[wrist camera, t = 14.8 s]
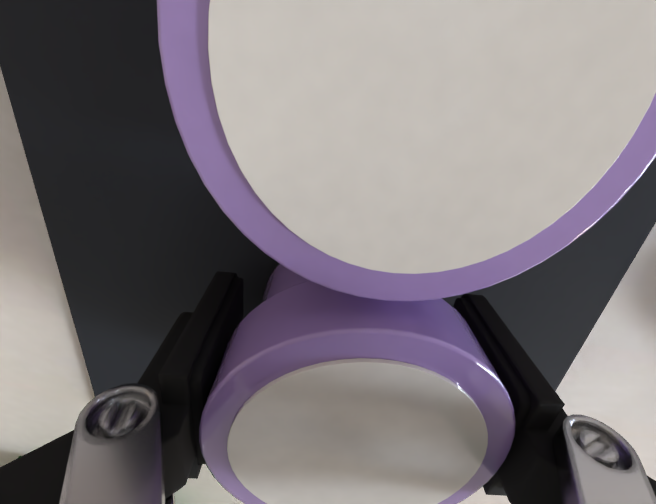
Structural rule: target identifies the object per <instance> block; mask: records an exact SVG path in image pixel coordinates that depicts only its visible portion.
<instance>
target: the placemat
mask: <svg viewBox="0 0 656 504" xmlns="http://www.w3.org/2000/svg"><path fill="white" fill-rule="evenodd" d="M0 67H1V70H2V74H3V77H4V81H5V84H6V88H7V91H8V95H9V98H10V101H11V105H12V108H13V112H14V115H15V119H16V122H17V126H18V129H19V133H20V136H21V140H22V143H23V147H24V150H25V154H26V157H27V161H28V164H29V168H30V171H31V175H32V178H33V182H34V185H35V189H36V192H37V196H38V199H39V203H40V206H41V210H42V213H43V216H44V220H45V223H46V227H47V230H48V234H49V237H50V241H51V244H52V248H53V251H54V255H55V258H56V262H57V265H58V269H59V272H60V276H61V279H62V283H63V286H64V290H65V293H66V297H67V300H68V304H69V307H70V311H71V314H72V318H73V321H74V325H75V328H76V331H77V335H78V338H79V342H80V345H81V349H82V352H83V356H84V359H85V363H86V366H87V370H88V373H89V377H90V380H91V384H92V387H93V391H94V394H95V397H96V396H97V395H99V394H101V393H102V392H104V391H106V390H108V389H110V388H113V387H116V386H119V385H122V384H130V383H138V381H139V379H140V378H141V376H142V375H143V373H144V371H145V370H146V368H147V367H148V365H149V363H150V362H151V360H152V358H153V357H154V355H155V354H156V352H157V350H158V349H159V347H160V346H161V344H162V342H163V341H164V339H165V337H166V336H167V334H168V333H169V331H170V329H171V328H172V326H173V325H174V323H175V321H176V320H177V318H178V317H179V315H180V314H181V313H182V312H194V310H195V309H196V307H197V305H198V303H199V302H200V300H201V298H202V296H203V295H204V293H205V291H206V289H207V287H208V286H209V284H210V282H211V280H212V279H213V277H214V275H215V273H216V272H217V271H223V272H234V273H237V278H243V319H244V318H245V317H246V316H247V315H248V314H249V313H250V312H251V311H252V310H254V309H255V308H256V307H257V306H259V305H260V304H261V301H262V297H263V294H264V290H265V287H266V284H267V282H268V280H269V278H270V276H271V275H272V273H273V271H274V270H275V269H276V267H277V266H278V265H279V264H280V263H278V262H277V261H275V260H274V259H272V258H271V257H270V256H268V255H267V254H265V253H264V252H263V251H262V250H260V249H259V248H258V247H257V246H256V245H255V244H254V243H253V242H251V241H250V240H249V239H248V238H247V237H246V236H245V235H244V234H243V233H242V232H241V231H240V230H239V229H238V228H237V227H236V226H235V224H234V223H233V222H232V221H231V220H230V219H229V218H228V217H227V215H226V214H225V213H224V212H223V211H222V209H221V208H220V207H219V205H218V204H217V202H216V201H215V199H214V198H213V196H212V195H211V194H210V192H209V191H208V189H207V188H206V186H205V185H204V183H203V181H202V179H201V178H200V176H199V174H198V172H197V170H196V168H195V166H194V165H193V163H192V161H191V159H190V157H189V155H188V153H187V150H186V148H185V145H184V143H183V140H182V138H181V135H180V133H179V130H178V128H177V125H176V122H175V119H174V116H173V112H172V108H171V104H170V101H169V97H168V93H167V90H166V86H165V81H164V75H163V68H162V62H161V55H160V49H159V42H158V18H157V0H0ZM655 222H656V157H655V159H654V160H653V161H652V163H651V164H650V165H649V167H648V168H647V169H646V171H645V172H644V173H643V175H642V176H641V177H640V178H639V180H638V181H637V182H636V183H635V184H634V185H633V186H632V187H631V188H630V190H629V191H628V192H627V193H626V194H625V195H624V196H623V197H622V199H621V200H620V201H619V202H618V203H617V204H616V205H615V206H614V207H613V208H612V209H611V210H610V211H608V212H607V213H606V214H605V215H604V216H603V217H602V218H601V219H600V220H599V221H598V222H597V223H596V224H595V225H593V226H592V227H591V228H590V229H588V230H587V231H586V232H585V233H583V234H582V235H581V236H580V237H578V238H577V239H576V240H574V241H573V242H572V243H571V244H569V245H568V246H567V247H565V248H563V249H562V250H560V251H559V252H557V253H556V254H554V255H553V256H551V257H549V258H548V259H546V260H545V261H543V262H542V263H540V264H538V265H536V266H534V267H532V268H530V269H528V270H526V271H524V272H522V273H520V274H519V275H517V276H515V277H512V278H510V279H507V280H505V281H502V282H500V283H497V284H495V285H492V286H490V287H487V288H483V289H480V290H476V291H473V292H469V293H466V294H474V295H483V296H484V297H485V298H486V299H487V300H488V302H489V303H490V304H491V306H492V307H493V308H494V310H495V311H496V312H497V314H498V315H499V316H500V318H501V319H502V321H503V322H504V323H505V325H506V326H507V327H508V329H509V330H510V331H511V333H512V334H513V335H514V337H515V338H516V339H517V341H518V342H519V343H520V345H521V346H522V348H523V349H524V350H525V352H526V353H527V354H528V356H529V357H530V358H531V360H532V361H533V362H534V364H535V365H536V366H537V368H538V369H539V370H540V372H541V373H542V375H543V376H544V377H545V379H546V380H547V381H548V383H549V384H550V385H551V387H552V388H553V389H554V391H556V389H557V387H558V386H559V384H560V382H561V381H562V379H563V377H564V376H565V374H566V372H567V370H568V369H569V367H570V365H571V364H572V362H573V360H574V359H575V357H576V355H577V354H578V352H579V350H580V349H581V347H582V345H583V344H584V342H585V340H586V339H587V337H588V335H589V333H590V332H591V330H592V328H593V327H594V325H595V323H596V322H597V320H598V318H599V317H600V315H601V313H602V312H603V310H604V308H605V307H606V305H607V303H608V302H609V300H610V298H611V296H612V295H613V293H614V291H615V290H616V288H617V286H618V285H619V283H620V281H621V280H622V278H623V276H624V275H625V273H626V271H627V270H628V268H629V266H630V264H631V263H632V261H633V259H634V258H635V256H636V254H637V253H638V251H639V249H640V248H641V246H642V244H643V243H644V241H645V239H646V238H647V236H648V234H649V233H650V231H651V229H652V227H653V226H654V224H655ZM462 295H463V294H462ZM462 295H457V296H452V297H446V298H442V299H443V300H444V301H446V302H447V303H448V304H449V305H451V306H452V307H453V305H454V303H455V300H456V299H457V298H461V296H462Z"/></svg>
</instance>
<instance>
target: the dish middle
mask: <svg viewBox="0 0 656 504" xmlns="http://www.w3.org/2000/svg"><path fill="white" fill-rule="evenodd" d="M157 18H158V42H159V49H160V55H161V62H162V68H163V75H164V81H165V86H166V90H167V93H168V97H169V101H170V104H171V108H172V112H173V116H174V119H175V122H176V125H177V128H178V130H179V133H180V135H181V138H182V140H183V143H184V145H185V148H186V150H187V153H188V155H189V157H190V159H191V161H192V163H193V165H194V166H195V168H196V170H197V172H198V174H199V176H200V178H201V179H202V181H203V183H204V185H205V186H206V188H207V189H208V191H209V192H210V194H211V195H212V196H213V198H214V199H215V201H216V202H217V204H218V205H219V207H220V208H221V209H222V211H223V212H224V213H225V214H226V215H227V217H228V218H229V219H230V220H231V221H232V222H233V223H234V224H235V226H236V227H237V228H238V229H239V230H240V231H241V232H242V233H243V234H244V235H245V236H246V237H247V238H248V239H249V240H250V241H251V242H253V243H254V244H255V245H256V246H257V247H258V248H259V249H260V250H262V251H263V252H264V253H265V254H267V255H268V256H270V257H271V258H272V259H274V260H275V261H277V262H278V263H280V264H281V265H282V266H284V267H285V268H287V269H289V270H291V271H292V272H294V273H296V274H298V275H300V276H302V277H304V278H306V279H307V280H309V281H312V282H314V283H317V284H319V285H322V286H324V287H327V288H330V289H332V290H335V291H339V292H342V293H346V294H350V295H354V296H358V297H364V298H371V299H378V300H385V301H421V300H434V299H441V298H446V297H452V296H457V295H462V294H466V293H469V292H473V291H476V290H480V289H483V288H487V287H490V286H492V285H495V284H497V283H500V282H502V281H505V280H507V279H510V278H512V277H515V276H517V275H519V274H520V273H522V272H524V271H526V270H528V269H530V268H532V267H534V266H536V265H538V264H540V263H542V262H543V261H545V260H546V259H548V258H549V257H551V256H553V255H554V254H556V253H557V252H559V251H560V250H562V249H563V248H565V247H567V246H568V245H569V244H571V243H572V242H573V241H574V240H576V239H577V238H578V237H580V236H581V235H582V234H583V233H585V232H586V231H587V230H588V229H590V228H591V227H592V226H593V225H595V224H596V223H597V222H598V221H599V220H600V219H601V218H602V217H603V216H604V215H605V214H606V213H607V212H608V211H610V210H611V209H612V208H613V207H614V206H615V205H616V204H617V203H618V202H619V201H620V200H621V199H622V197H623V196H624V195H625V194H626V193H627V192H628V191H629V190H630V188H631V187H632V186H633V185H634V184H635V183H636V182H637V181H638V180H639V178H640V177H641V176H642V175H643V173H644V172H645V171H646V169H647V168H648V167H649V165H650V164H651V163H652V161H653V160H654V159H655V157H656V0H157Z"/></svg>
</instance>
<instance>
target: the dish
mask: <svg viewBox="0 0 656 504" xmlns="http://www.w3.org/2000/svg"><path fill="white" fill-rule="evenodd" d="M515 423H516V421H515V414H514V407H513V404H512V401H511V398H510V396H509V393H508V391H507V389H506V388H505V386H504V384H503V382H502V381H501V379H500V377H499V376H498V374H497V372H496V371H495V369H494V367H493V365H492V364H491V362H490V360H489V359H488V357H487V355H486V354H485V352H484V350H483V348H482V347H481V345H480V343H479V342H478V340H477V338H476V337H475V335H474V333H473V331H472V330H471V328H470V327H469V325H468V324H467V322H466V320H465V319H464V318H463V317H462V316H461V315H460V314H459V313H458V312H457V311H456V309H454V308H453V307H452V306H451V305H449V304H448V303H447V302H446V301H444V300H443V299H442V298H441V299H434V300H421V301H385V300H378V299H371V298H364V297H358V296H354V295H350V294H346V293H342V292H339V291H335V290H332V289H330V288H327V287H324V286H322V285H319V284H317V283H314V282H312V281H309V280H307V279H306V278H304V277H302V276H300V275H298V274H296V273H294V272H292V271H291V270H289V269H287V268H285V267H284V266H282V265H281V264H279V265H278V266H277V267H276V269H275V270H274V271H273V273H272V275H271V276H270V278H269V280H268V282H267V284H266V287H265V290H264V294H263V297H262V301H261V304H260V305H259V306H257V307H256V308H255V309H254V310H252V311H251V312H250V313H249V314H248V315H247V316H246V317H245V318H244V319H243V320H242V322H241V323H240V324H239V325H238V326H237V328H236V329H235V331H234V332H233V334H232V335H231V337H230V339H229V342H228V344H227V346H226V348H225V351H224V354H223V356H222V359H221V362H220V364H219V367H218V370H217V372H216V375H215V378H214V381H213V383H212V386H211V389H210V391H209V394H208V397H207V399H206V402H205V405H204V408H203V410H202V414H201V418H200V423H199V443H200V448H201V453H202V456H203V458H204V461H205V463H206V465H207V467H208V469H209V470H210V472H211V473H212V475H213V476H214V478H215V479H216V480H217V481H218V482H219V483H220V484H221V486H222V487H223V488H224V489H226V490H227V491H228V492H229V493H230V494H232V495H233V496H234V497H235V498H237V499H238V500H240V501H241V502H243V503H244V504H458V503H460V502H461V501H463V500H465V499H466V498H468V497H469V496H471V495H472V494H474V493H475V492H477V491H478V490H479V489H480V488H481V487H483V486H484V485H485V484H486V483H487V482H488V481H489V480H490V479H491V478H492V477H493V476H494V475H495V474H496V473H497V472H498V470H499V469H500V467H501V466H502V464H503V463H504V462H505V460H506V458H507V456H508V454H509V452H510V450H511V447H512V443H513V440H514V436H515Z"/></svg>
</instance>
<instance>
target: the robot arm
mask: <svg viewBox="0 0 656 504" xmlns="http://www.w3.org/2000/svg"><path fill="white" fill-rule="evenodd" d="M453 308H454V309H456V311H457V312H458V313H459V314H460V315H461V316H462V317H463V318H464V319H465V320H466V322H467V324H468V325H469V327H470V328H471V330H472V331H473V333H474V335H475V337H476V338H477V340H478V342H479V343H480V345H481V347H482V348H483V350H484V352H485V354H486V355H487V357H488V359H489V360H490V362H491V364H492V365H493V367H494V369H495V371H496V372H497V374H498V376H499V377H500V379H501V381H502V382H503V384H504V386H505V388H506V389H507V391H508V393H509V396H510V398H511V401H512V404H513V407H514V414H515V421H516V423H515V436H514V440H513V443H512V447H511V450H510V452H509V454H508V456H507V458H506V460H505V462H504V463H503V464H502V466H501V467H500V469H499V470H498V472H497V473H496V474H495V475H494V476H493V477H492V478H491V479H490V480H489V481H488V482H487V483H486V484H485V485H484V486H483V488H484V490H485V493H486V494H488V495H505V496H506V495H507V497H508V500H509V502H510V503H511V504H656V481H655V480H653V479H651V478H650V477H648V476H647V475H646V473H645V470H644V468H643V465H642V463H641V461H640V459H639V457H638V455H637V453H636V452H635V450H634V449H633V448H632V446H631V445H630V444H629V443H628V442H627V441H626V440H625V439H624V438H623V437H622V436H621V435H620V434H618V433H617V432H616V431H615V430H613V429H612V428H610V427H609V426H607V425H606V424H604V423H602V422H600V421H598V420H596V419H594V418H591V417H588V416H584V415H570V416H567V414H566V413H565V412H564V410H563V409H562V408H563V406H564V405H565V404H564V403H563V402H562V400H561V399H560V398H559V396H558V395H557V393H556V392H555V391H554V389H553V388H552V387H551V385H550V384H549V383H548V381H547V380H546V379H545V377H544V376H543V375H542V373H541V372H540V370H539V369H538V368H537V366H536V365H535V364H534V362H533V361H532V360H531V358H530V357H529V356H528V354H527V353H526V352H525V350H524V349H523V348H522V346H521V345H520V343H519V342H518V341H517V339H516V338H515V337H514V335H513V334H512V333H511V331H510V330H509V329H508V327H507V326H506V325H505V323H504V322H503V321H502V319H501V318H500V316H499V315H498V314H497V312H496V311H495V310H494V308H493V307H492V306H491V304H490V303H489V302H488V300H487V299H486V298H485V297H484V296H483V295H474V294H463V295H462V296H461V298H457V299H456V300H455V303H454V305H453ZM242 320H243V278H237V273H234V272H223V271H217V272H216V273H215V275H214V277H213V279H212V280H211V282H210V284H209V286H208V287H207V289H206V291H205V293H204V295H203V296H202V298H201V300H200V302H199V303H198V305H197V307H196V309H195V310H194V312H182V313H181V314H180V315H179V317H178V318H177V320H176V321H175V323H174V325H173V326H172V328H171V329H170V331H169V333H168V334H167V336H166V337H165V339H164V341H163V342H162V344H161V346H160V347H159V349H158V350H157V352H156V354H155V355H154V357H153V358H152V360H151V362H150V363H149V365H148V367H147V368H146V370H145V371H144V373H143V375H142V376H141V378H140V379H139V381H138V383H130V384H122V385H119V386H116V387H113V388H110V389H108V390H106V391H104V392H102V393H101V394H99V395H97V396H96V397H95V398H94V399H92V400H91V401H90V402H89V403H88V404H87V405H86V406H85V407H84V409H83V410H82V411H81V412H80V414H79V417H78V419H77V421H76V425H75V429H74V430H73V431H71V432H69V433H67V434H65V435H63V436H61V437H59V438H57V439H55V440H53V441H51V442H49V443H47V444H46V445H44V446H42V447H40V448H38V449H36V450H34V451H32V452H30V453H28V454H26V455H24V456H22V457H20V458H18V459H16V460H14V461H12V462H10V463H8V464H6V465H4V466H2V467H0V504H175V496H174V493H175V492H176V491H177V490H179V489H180V488H182V487H183V486H184V485H186V482H187V479H188V478H198V475H199V472H200V469H201V466H202V464H206V463H205V461H204V458H203V456H202V453H201V448H200V443H199V423H200V418H201V414H202V410H203V408H204V405H205V402H206V399H207V397H208V394H209V391H210V389H211V386H212V383H213V381H214V378H215V375H216V372H217V370H218V367H219V364H220V362H221V359H222V356H223V354H224V351H225V348H226V346H227V344H228V342H229V339H230V337H231V335H232V334H233V332H234V331H235V329H236V328H237V326H238V325H239V324H240V323H241V322H242Z"/></svg>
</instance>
